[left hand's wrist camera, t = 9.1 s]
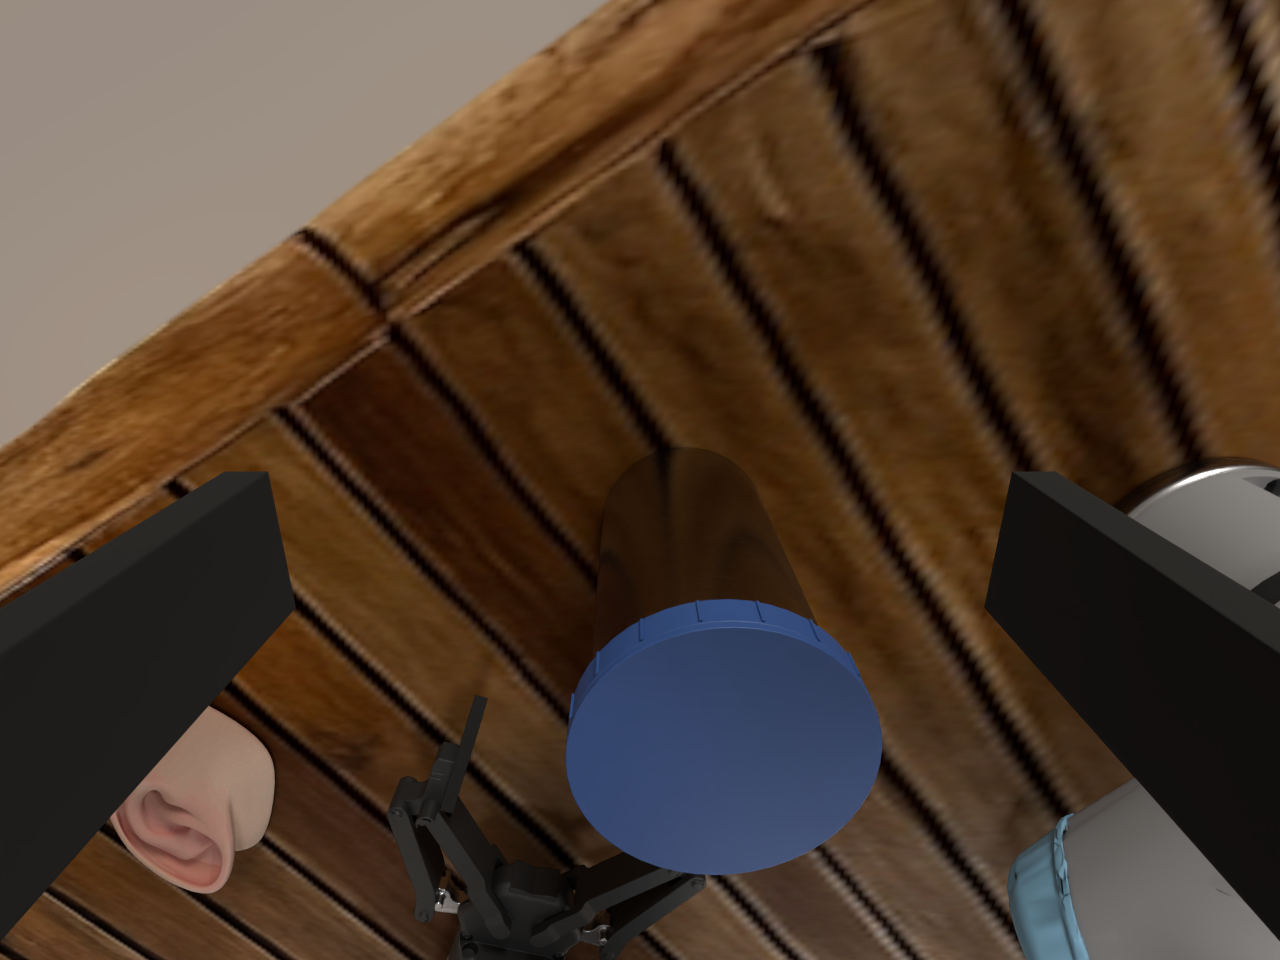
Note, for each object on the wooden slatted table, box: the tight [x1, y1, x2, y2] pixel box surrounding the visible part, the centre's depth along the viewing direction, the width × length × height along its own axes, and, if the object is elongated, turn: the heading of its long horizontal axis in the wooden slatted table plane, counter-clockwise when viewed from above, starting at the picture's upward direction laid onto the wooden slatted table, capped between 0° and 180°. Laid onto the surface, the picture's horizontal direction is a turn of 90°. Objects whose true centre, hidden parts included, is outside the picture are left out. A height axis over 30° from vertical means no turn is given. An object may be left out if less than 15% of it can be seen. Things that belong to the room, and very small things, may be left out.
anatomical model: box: [110, 706, 275, 893], centre depth 47 cm, size 13×4×12 cm
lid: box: [565, 599, 882, 875], centre depth 25 cm, size 11×11×2 cm
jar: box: [591, 448, 818, 662], centre depth 34 cm, size 10×10×19 cm
